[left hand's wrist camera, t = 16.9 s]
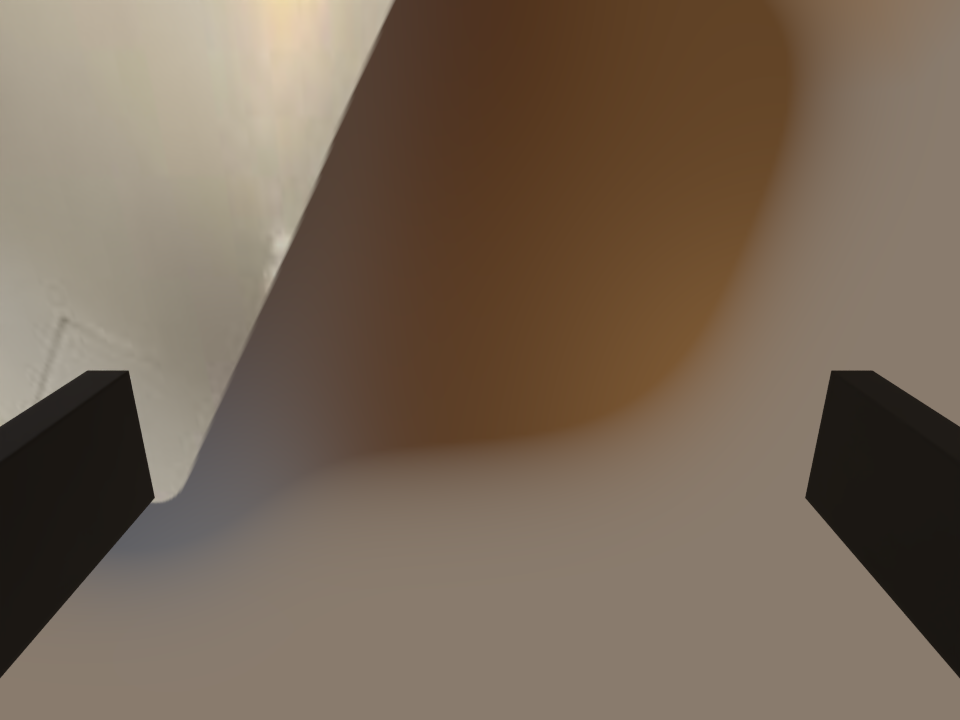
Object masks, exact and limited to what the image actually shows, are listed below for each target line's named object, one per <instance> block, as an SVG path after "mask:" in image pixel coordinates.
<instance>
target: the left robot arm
mask: <svg viewBox="0 0 960 720" xmlns="http://www.w3.org/2000/svg"><path fill="white" fill-rule="evenodd" d="M154 498H155V497H154V492H153V487H152V482H151V477H150V472H149V468H148V463H147V458H146V453H145V448H144V443H143V438H142V433H141V429H140V424H139V419H138V414H137V409H136V404H135V399H134V395H133V390H132V385H131V380H130V375H129V371H86V372H85V373H83V374H82V375H80V376H78V377H77V378H75V379H74V380H72V381H71V382H69V383H68V384H66V385H64V386H63V387H61V388H60V389H58V390H57V391H55V392H54V393H52V394H50V395H49V396H47V397H46V398H44V399H43V400H41V401H40V402H38V403H36V404H35V405H33V406H32V407H30V408H29V409H27V410H26V411H24V412H22V413H21V414H19V415H18V416H16V417H15V418H13V419H12V420H10V421H8V422H7V423H5V424H4V425H2V426H1V427H0V678H1V676H2V675H3V674H4V673H5V672H6V671H7V669H8V668H9V667H10V666H11V665H12V664H13V663H14V661H15V660H16V659H17V658H18V657H19V656H20V654H21V653H22V652H23V651H24V650H25V649H26V647H27V646H28V645H29V644H30V643H31V642H32V640H33V639H34V638H35V637H36V636H37V635H38V633H39V632H40V631H41V630H42V629H43V628H44V626H45V625H46V624H47V623H48V622H49V620H50V619H51V618H52V617H53V616H54V615H55V614H56V612H57V611H58V610H59V609H60V608H61V607H62V605H63V604H64V603H65V602H66V601H67V600H68V598H69V597H70V596H71V595H72V594H73V593H74V591H75V590H76V589H77V588H78V587H79V585H80V584H81V583H82V582H83V581H84V580H85V579H86V577H87V576H88V575H89V574H90V573H91V572H92V570H93V569H94V568H95V567H96V566H97V565H98V563H99V562H100V561H101V560H102V559H103V558H104V556H105V555H106V554H107V553H108V552H109V551H110V549H111V548H112V547H113V546H114V545H115V544H116V542H117V541H118V540H119V539H120V538H121V537H122V535H123V534H124V533H125V532H126V531H127V530H128V528H129V527H130V526H131V525H132V524H133V523H134V521H135V520H136V519H137V518H138V517H139V515H140V514H141V513H142V512H143V511H144V510H145V509H146V507H147V506H148V505H149V504H150V503H151V502H152V500H153V499H154ZM805 498H806V499H807V500H808V502H809V503H810V504H811V505H812V506H813V507H814V509H815V510H816V511H817V512H818V513H819V514H820V516H821V517H822V518H823V519H824V520H825V521H826V522H827V524H828V525H829V526H830V527H831V528H832V530H833V531H834V532H835V533H836V534H837V535H838V536H839V538H840V539H841V540H842V541H843V542H844V544H845V545H846V546H847V547H848V548H849V549H850V551H851V552H852V553H853V554H854V555H855V556H856V558H857V559H858V560H859V561H860V562H861V563H862V565H863V566H864V567H865V568H866V569H867V570H868V572H869V573H870V574H871V575H872V576H873V577H874V579H875V580H876V581H877V582H878V583H879V584H880V586H881V587H882V588H883V589H884V590H885V591H886V593H887V594H888V595H889V596H890V597H891V598H892V600H893V601H894V602H895V603H896V604H897V605H898V607H899V608H900V609H901V610H902V611H903V612H904V614H905V615H906V616H907V617H908V618H909V619H910V621H911V622H912V623H913V624H914V625H915V626H916V628H917V629H918V630H919V631H920V632H921V633H922V634H923V636H924V637H925V638H926V639H927V640H928V641H929V643H930V644H931V645H932V646H933V647H934V649H935V650H936V651H937V652H938V653H939V654H940V656H941V657H942V658H943V659H944V660H945V661H946V662H947V664H948V665H949V666H950V667H951V668H952V669H953V671H954V672H955V673H956V674H957V675H958V677H959V678H960V427H959V426H958V425H956V424H955V423H953V422H952V421H950V420H948V419H947V418H945V417H944V416H942V415H941V414H939V413H937V412H936V411H934V410H933V409H931V408H930V407H928V406H927V405H925V404H924V403H922V402H920V401H919V400H917V399H916V398H914V397H913V396H911V395H910V394H908V393H906V392H905V391H903V390H902V389H900V388H899V387H897V386H896V385H894V384H892V383H891V382H889V381H888V380H886V379H885V378H883V377H882V376H880V375H878V374H877V373H875V372H874V371H831V375H830V380H829V385H828V390H827V395H826V400H825V404H824V409H823V414H822V419H821V424H820V429H819V434H818V439H817V443H816V448H815V453H814V458H813V463H812V468H811V472H810V477H809V482H808V487H807V492H806V497H805Z"/></svg>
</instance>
